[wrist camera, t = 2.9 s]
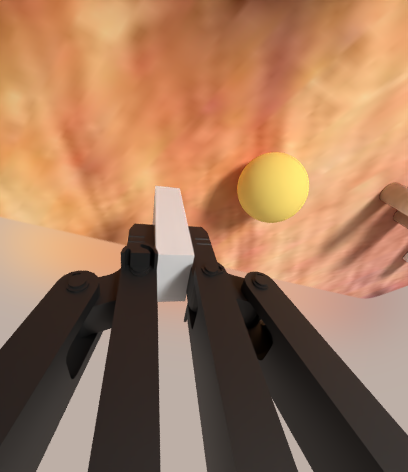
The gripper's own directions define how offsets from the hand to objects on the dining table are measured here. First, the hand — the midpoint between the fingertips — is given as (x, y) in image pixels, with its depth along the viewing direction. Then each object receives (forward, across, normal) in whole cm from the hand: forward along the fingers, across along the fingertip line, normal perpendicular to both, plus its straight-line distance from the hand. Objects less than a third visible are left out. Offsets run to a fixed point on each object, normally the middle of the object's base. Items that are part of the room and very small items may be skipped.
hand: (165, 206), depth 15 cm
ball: (+4, +9, 0) cm, 10 cm away
